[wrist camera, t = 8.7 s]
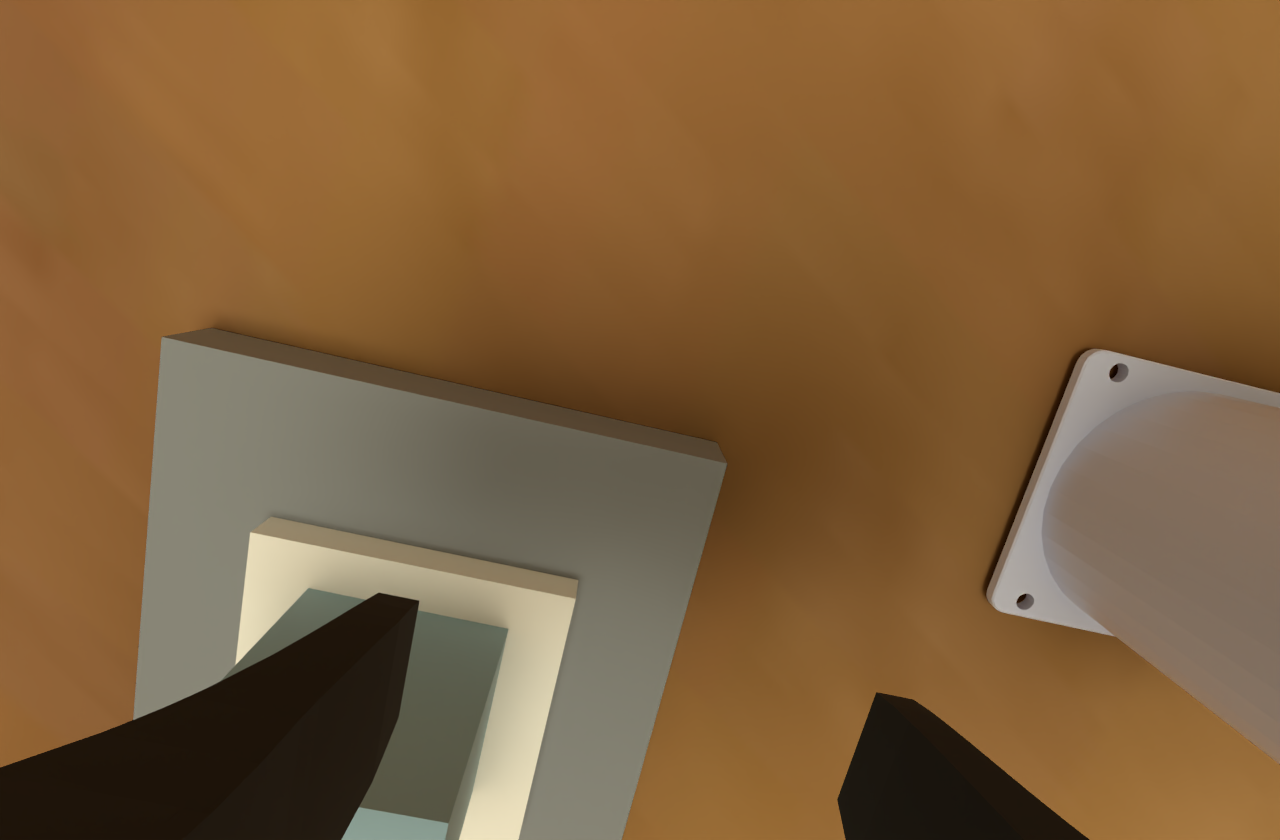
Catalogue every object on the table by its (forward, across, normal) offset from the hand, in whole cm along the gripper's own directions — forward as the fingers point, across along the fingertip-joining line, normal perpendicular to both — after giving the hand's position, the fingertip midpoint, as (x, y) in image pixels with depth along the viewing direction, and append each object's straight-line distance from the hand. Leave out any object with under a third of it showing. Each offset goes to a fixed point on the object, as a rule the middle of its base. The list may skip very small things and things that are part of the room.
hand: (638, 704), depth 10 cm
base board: (+9, +5, +6) cm, 12 cm away
